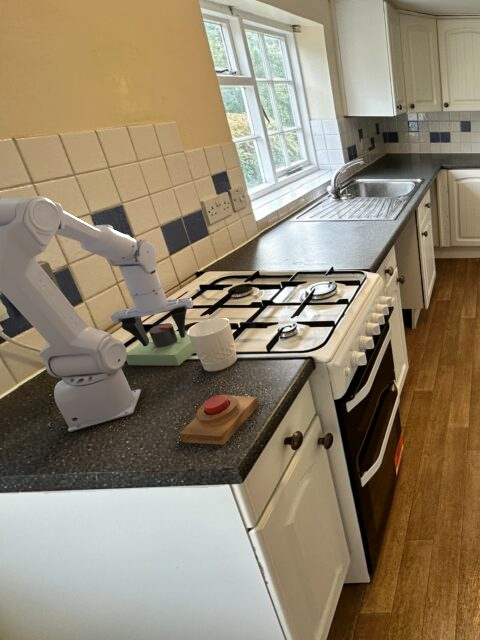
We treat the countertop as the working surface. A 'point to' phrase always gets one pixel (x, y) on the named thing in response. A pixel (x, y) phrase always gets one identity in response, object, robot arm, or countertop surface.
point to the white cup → (213, 343)
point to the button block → (219, 422)
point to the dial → (163, 335)
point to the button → (216, 404)
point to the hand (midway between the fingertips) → (165, 339)
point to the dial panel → (161, 352)
